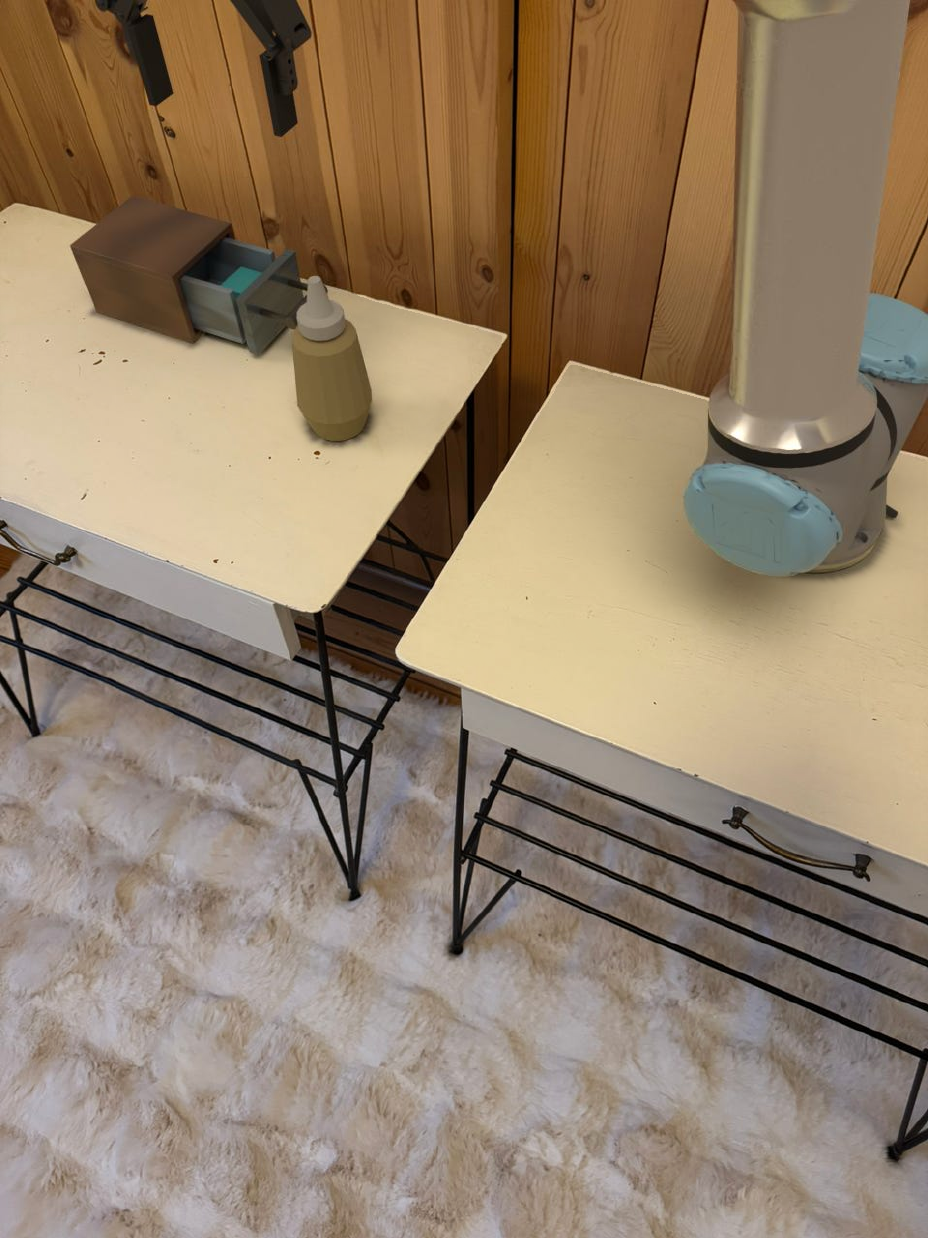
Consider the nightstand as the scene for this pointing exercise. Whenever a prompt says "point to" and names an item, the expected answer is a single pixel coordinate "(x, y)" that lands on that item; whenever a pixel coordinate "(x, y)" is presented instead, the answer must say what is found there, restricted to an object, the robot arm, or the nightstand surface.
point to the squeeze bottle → (329, 368)
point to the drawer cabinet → (146, 263)
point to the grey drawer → (244, 293)
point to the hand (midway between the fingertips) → (222, 114)
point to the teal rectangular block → (240, 280)
